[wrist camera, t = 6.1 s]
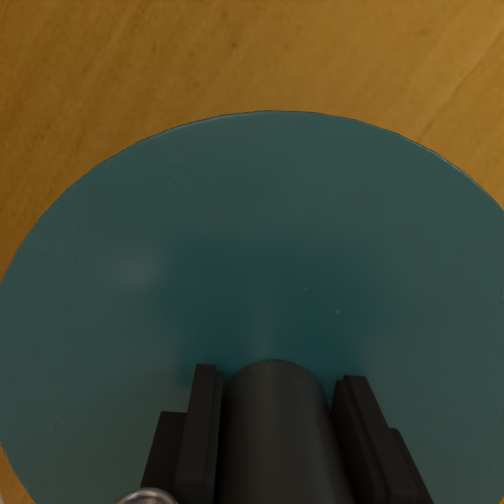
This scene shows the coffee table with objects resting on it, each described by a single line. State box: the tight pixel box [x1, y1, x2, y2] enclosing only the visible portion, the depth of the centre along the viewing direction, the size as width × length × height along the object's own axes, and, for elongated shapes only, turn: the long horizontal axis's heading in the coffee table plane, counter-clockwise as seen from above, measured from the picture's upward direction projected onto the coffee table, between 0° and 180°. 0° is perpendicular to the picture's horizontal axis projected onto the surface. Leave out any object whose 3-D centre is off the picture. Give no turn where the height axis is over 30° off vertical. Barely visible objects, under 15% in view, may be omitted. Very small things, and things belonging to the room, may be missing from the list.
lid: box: [0, 110, 504, 504], centre depth 11 cm, size 16×16×7 cm
